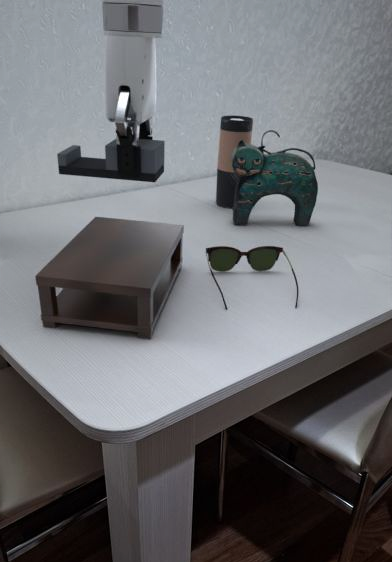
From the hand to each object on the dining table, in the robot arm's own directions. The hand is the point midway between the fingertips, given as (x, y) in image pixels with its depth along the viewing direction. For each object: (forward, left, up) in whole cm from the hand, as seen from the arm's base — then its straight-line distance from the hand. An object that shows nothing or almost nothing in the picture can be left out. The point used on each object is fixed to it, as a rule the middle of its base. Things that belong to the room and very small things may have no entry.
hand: (135, 168), depth 73 cm
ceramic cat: (+20, +41, -20) cm, 50 cm away
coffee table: (-2, -2, -20) cm, 20 cm away
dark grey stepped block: (-3, 0, -1) cm, 4 cm away
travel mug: (+11, +53, -20) cm, 58 cm away
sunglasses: (+18, +5, -20) cm, 28 cm away
